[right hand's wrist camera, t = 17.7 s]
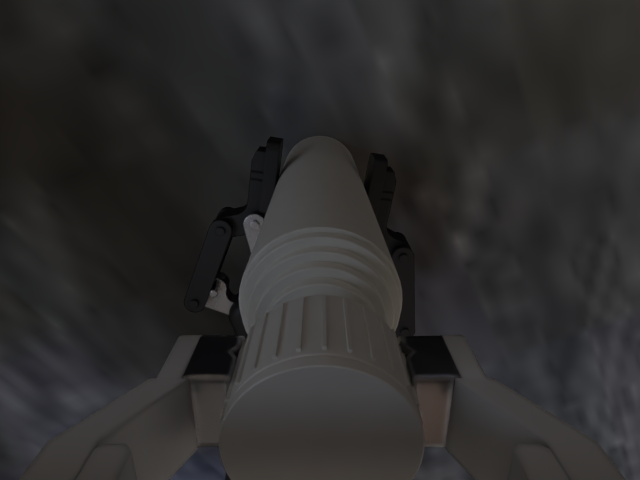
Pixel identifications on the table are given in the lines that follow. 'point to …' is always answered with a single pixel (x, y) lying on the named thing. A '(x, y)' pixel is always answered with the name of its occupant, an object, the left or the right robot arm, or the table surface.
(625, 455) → the table surface
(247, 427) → the cap
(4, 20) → the table surface
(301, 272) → the bottle
